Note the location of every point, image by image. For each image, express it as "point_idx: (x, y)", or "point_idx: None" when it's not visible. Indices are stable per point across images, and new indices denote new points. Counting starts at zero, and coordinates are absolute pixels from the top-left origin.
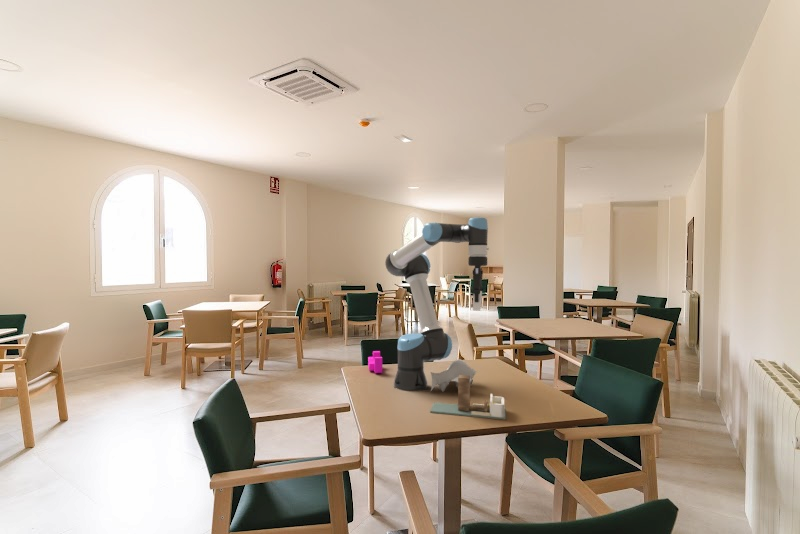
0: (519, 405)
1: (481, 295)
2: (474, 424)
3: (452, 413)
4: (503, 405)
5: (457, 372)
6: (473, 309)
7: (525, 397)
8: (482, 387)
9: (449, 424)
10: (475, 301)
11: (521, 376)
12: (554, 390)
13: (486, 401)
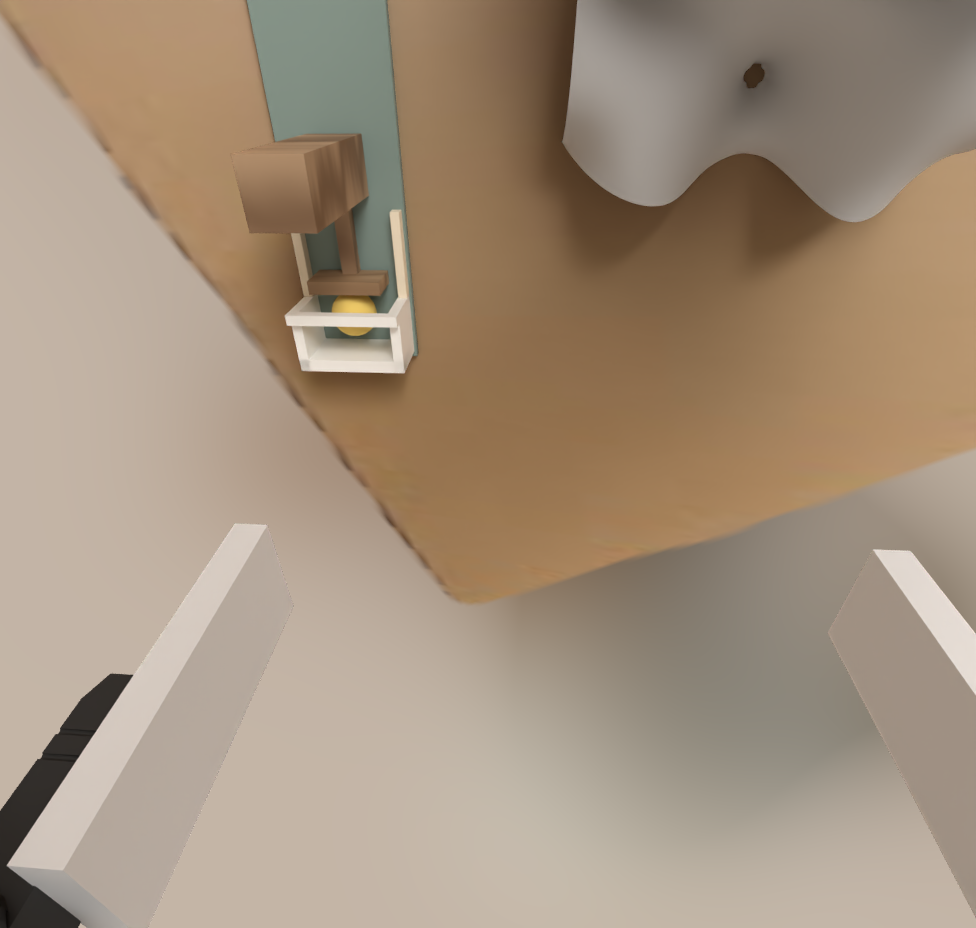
0: (493, 407)
1: (954, 865)
2: (214, 227)
3: (268, 104)
4: (301, 366)
5: (837, 64)
6: (230, 540)
7: (596, 435)
8: (734, 244)
9: (152, 104)
10: (103, 695)
11: (925, 445)
12: (698, 538)
13: (351, 291)
